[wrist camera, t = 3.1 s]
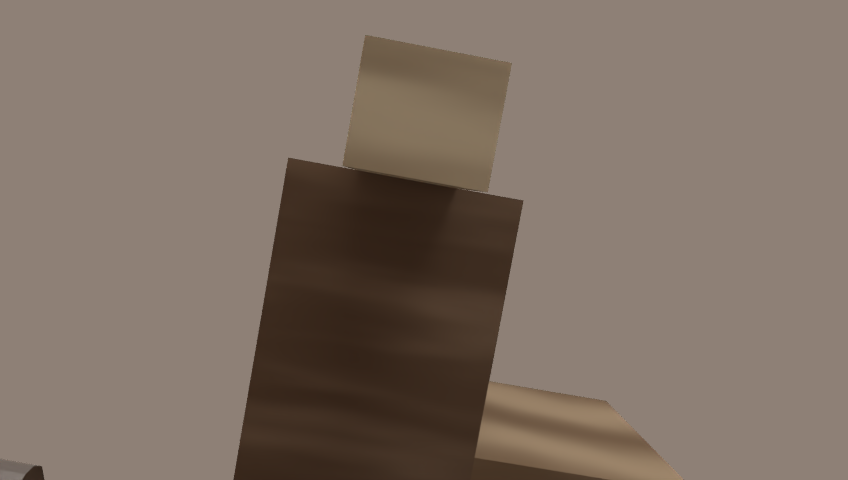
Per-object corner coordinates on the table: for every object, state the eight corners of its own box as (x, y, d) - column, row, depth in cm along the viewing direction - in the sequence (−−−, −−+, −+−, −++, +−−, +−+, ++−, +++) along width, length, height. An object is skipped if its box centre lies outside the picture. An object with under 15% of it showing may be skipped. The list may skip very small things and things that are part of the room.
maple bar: (487, 192, 19) (511, 63, 19) (342, 165, 19) (365, 34, 18) (434, 185, 40) (445, 125, 40) (366, 173, 40) (377, 113, 40)
